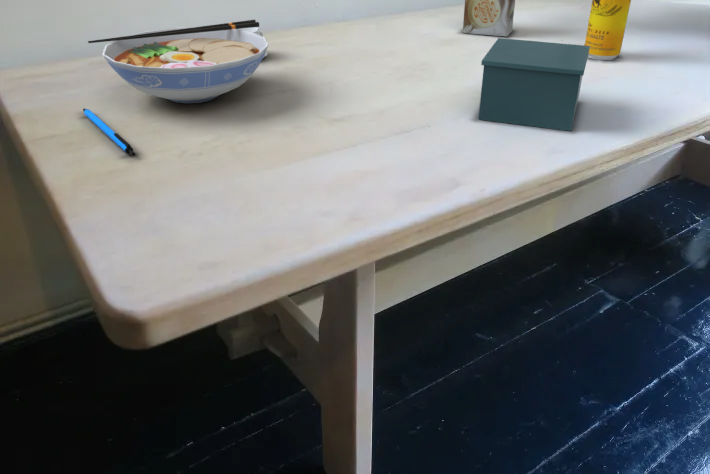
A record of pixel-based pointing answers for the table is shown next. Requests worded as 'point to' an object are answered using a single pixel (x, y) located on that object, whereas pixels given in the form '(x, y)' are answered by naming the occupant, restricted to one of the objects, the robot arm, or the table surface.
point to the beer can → (606, 28)
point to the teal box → (532, 83)
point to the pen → (109, 132)
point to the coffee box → (488, 17)
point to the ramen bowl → (187, 60)
